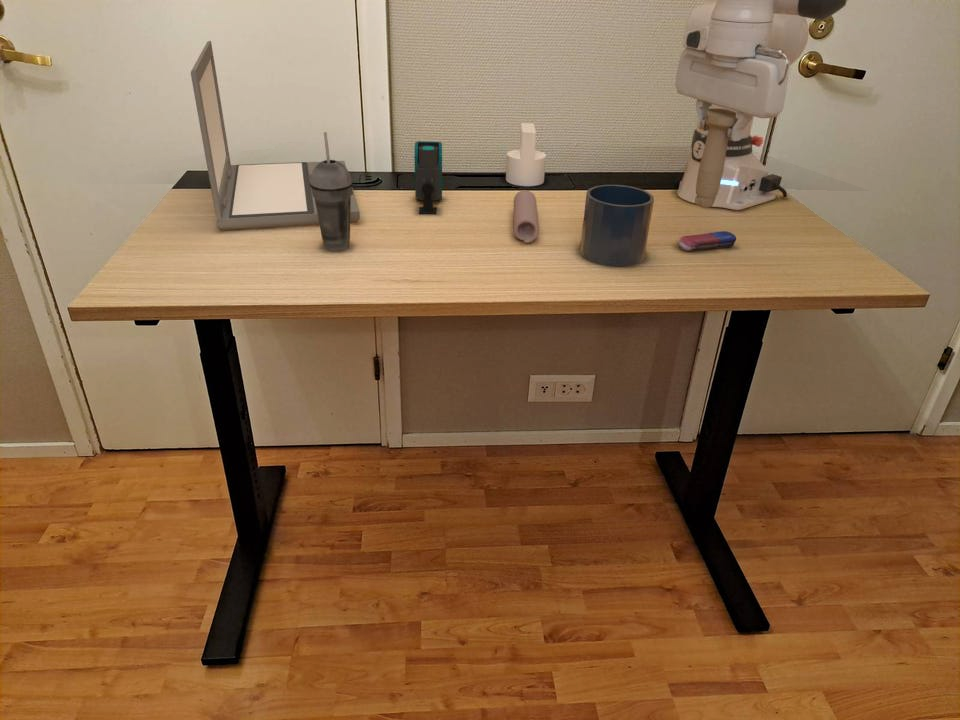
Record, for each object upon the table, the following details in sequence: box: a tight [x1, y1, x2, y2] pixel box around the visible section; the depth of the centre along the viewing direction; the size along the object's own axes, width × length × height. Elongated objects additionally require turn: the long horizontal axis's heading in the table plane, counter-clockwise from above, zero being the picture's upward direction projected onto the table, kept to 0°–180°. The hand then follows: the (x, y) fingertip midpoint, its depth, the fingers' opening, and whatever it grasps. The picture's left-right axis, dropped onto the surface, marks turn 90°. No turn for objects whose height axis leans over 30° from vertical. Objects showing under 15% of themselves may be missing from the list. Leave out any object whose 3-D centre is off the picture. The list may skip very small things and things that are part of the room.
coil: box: [513, 189, 540, 244], centre depth 136 cm, size 5×5×18 cm
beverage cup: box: [310, 131, 354, 253], centre depth 120 cm, size 7×7×20 cm
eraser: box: [678, 230, 737, 252], centre depth 131 cm, size 11×4×2 cm, turn 107°
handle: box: [694, 109, 738, 208], centre depth 114 cm, size 5×6×15 cm
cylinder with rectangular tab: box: [505, 122, 547, 187], centre depth 160 cm, size 9×9×12 cm
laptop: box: [190, 40, 361, 231], centre depth 139 cm, size 35×26×28 cm
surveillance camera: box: [413, 140, 443, 215], centre depth 142 cm, size 6×12×10 cm
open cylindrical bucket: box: [579, 184, 655, 268], centre depth 124 cm, size 12×12×11 cm
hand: (718, 134), depth 112 cm, fingers closed on handle, 5 cm apart
